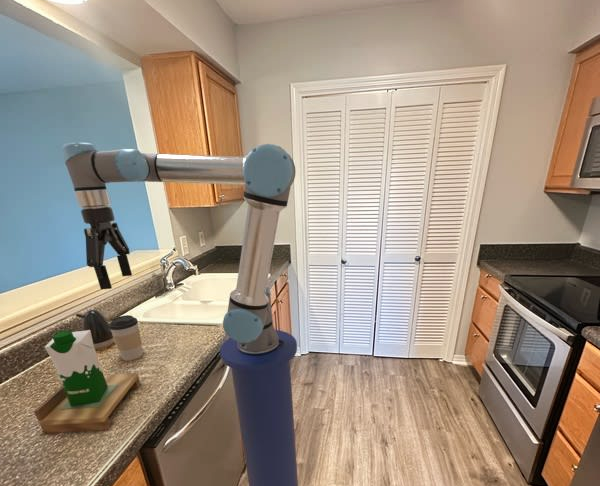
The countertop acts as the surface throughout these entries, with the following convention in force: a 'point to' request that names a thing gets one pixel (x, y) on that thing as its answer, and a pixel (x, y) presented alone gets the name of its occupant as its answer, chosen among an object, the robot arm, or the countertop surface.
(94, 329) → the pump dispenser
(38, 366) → the countertop surface
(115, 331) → the coffee cup
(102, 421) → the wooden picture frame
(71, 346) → the soya milk
